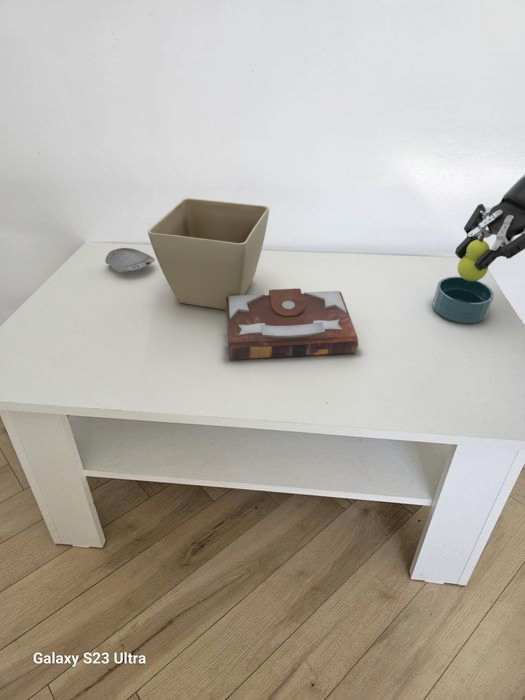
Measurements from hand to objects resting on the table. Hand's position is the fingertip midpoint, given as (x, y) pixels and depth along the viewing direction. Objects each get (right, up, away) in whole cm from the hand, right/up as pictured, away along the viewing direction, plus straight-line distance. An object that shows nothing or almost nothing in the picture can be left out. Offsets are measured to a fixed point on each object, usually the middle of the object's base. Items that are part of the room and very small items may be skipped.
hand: (467, 261), depth 87 cm
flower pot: (-49, -4, +13) cm, 51 cm away
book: (-34, -14, +1) cm, 37 cm away
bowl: (+2, -9, +8) cm, 12 cm away
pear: (+2, -3, +3) cm, 5 cm away
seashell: (-70, +2, +20) cm, 73 cm away
